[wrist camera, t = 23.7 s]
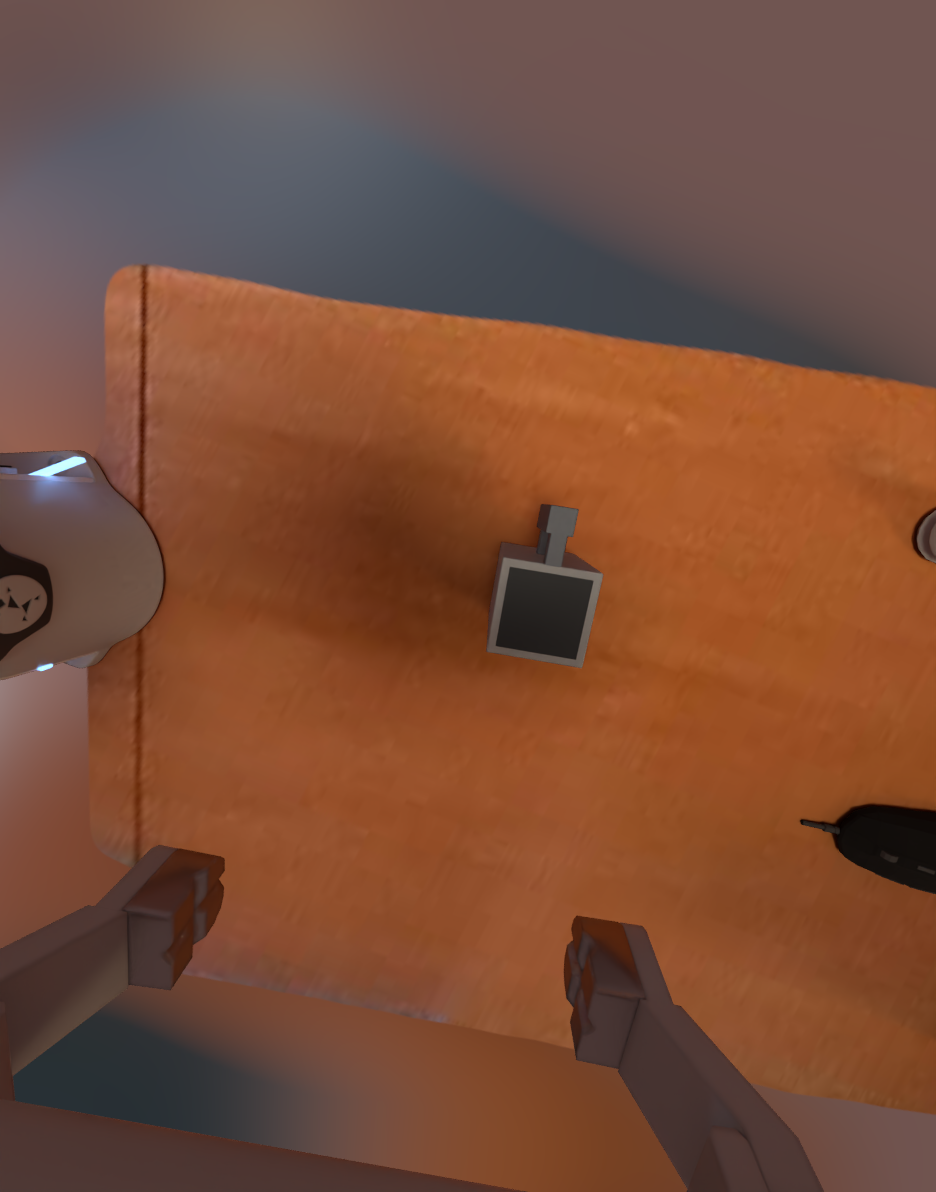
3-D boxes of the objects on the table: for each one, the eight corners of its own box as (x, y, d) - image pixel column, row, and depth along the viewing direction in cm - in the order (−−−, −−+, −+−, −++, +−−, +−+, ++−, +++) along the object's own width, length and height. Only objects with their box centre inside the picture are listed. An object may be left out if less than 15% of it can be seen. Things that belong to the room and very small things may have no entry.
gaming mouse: (811, 789, 39) (846, 822, 35) (984, 818, 38) (1040, 854, 34) (789, 850, 40) (821, 888, 36) (956, 878, 40) (1006, 920, 36)
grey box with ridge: (488, 612, 37) (508, 499, 35) (560, 624, 37) (584, 511, 35) (486, 652, 28) (513, 498, 25) (583, 669, 27) (618, 515, 25)
